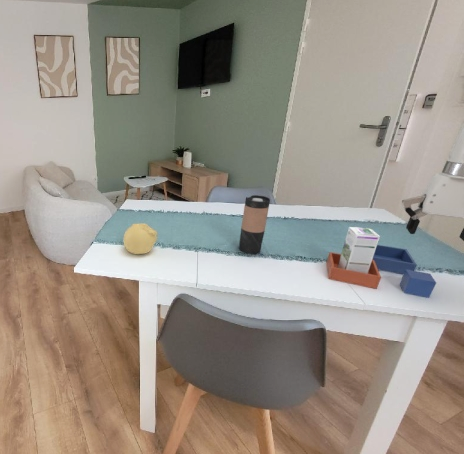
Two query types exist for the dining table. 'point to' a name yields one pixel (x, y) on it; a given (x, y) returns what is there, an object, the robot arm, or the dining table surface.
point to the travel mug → (253, 224)
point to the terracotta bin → (352, 273)
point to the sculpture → (140, 238)
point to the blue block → (417, 283)
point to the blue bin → (393, 259)
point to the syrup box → (358, 249)
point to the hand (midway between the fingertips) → (436, 235)
